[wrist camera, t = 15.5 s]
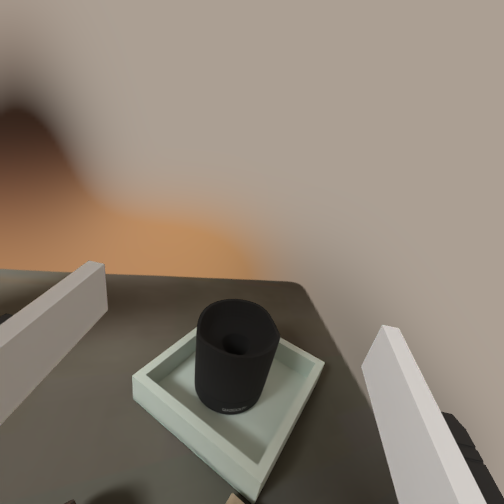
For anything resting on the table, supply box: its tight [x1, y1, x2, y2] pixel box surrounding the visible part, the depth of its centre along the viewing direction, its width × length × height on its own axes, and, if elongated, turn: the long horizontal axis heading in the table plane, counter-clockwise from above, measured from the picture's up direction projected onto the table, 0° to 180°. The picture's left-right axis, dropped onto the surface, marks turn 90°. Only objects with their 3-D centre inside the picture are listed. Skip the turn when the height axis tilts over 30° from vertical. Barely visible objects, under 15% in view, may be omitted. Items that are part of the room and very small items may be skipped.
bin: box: [132, 327, 325, 504], centre depth 36 cm, size 17×17×4 cm
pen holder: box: [195, 299, 280, 415], centre depth 34 cm, size 9×9×10 cm
